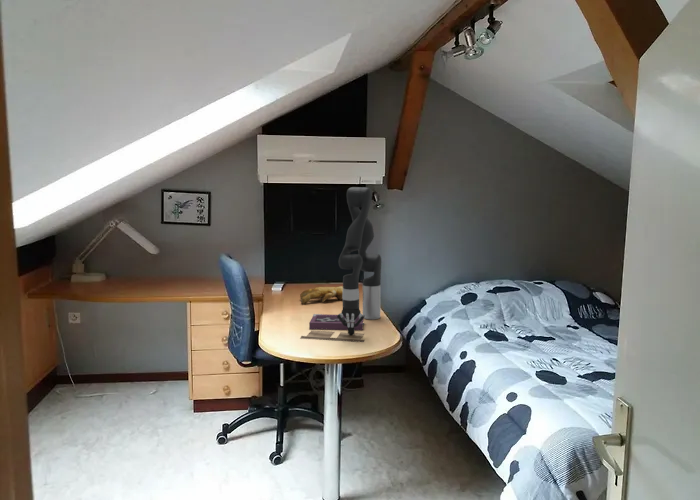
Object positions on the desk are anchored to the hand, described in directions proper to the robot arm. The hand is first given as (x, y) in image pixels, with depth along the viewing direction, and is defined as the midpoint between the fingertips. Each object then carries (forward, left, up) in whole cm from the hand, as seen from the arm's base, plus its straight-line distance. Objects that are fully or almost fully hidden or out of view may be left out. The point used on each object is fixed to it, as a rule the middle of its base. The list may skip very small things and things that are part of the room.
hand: (351, 334), depth 247 cm
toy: (-70, -31, -2) cm, 77 cm away
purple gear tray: (-15, -10, -2) cm, 18 cm away
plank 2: (+2, 0, -1) cm, 2 cm away
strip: (+8, -7, -1) cm, 11 cm away
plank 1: (+2, -14, -1) cm, 14 cm away
